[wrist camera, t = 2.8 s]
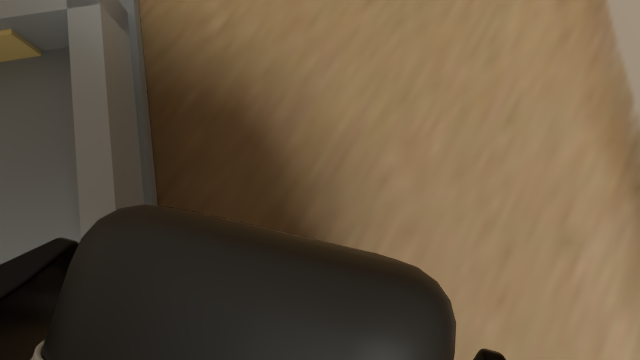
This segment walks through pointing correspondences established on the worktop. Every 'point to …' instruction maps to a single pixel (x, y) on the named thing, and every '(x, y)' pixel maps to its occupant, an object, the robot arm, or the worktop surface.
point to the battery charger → (238, 296)
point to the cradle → (70, 119)
